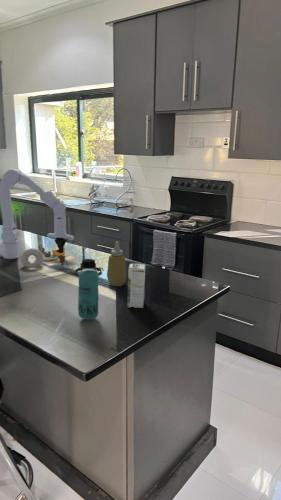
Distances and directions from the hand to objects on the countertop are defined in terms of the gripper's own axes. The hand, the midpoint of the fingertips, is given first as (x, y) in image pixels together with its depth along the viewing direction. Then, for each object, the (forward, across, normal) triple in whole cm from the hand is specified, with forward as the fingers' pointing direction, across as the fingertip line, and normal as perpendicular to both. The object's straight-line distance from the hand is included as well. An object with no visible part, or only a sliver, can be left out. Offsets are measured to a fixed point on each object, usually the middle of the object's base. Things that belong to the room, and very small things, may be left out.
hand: (61, 252), depth 187 cm
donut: (+4, -2, -20) cm, 20 cm away
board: (+3, -2, -4) cm, 5 cm away
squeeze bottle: (+4, +42, -20) cm, 46 cm away
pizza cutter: (+2, -3, -4) cm, 5 cm away
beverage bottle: (+4, +49, -54) cm, 74 cm away
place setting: (+5, +19, -10) cm, 22 cm away
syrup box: (+4, +58, -36) cm, 68 cm away
